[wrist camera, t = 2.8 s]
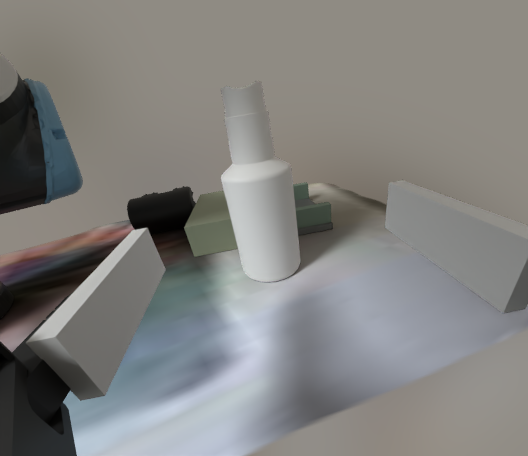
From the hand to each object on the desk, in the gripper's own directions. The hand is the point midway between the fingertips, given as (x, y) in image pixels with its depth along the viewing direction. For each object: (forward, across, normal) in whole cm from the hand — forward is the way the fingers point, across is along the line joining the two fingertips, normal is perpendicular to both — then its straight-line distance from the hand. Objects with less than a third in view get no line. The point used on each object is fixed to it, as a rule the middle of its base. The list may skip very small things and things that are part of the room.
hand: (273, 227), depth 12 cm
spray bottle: (+11, 0, -10) cm, 15 cm away
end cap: (+28, -16, -10) cm, 34 cm away
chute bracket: (+23, 0, -10) cm, 25 cm away
